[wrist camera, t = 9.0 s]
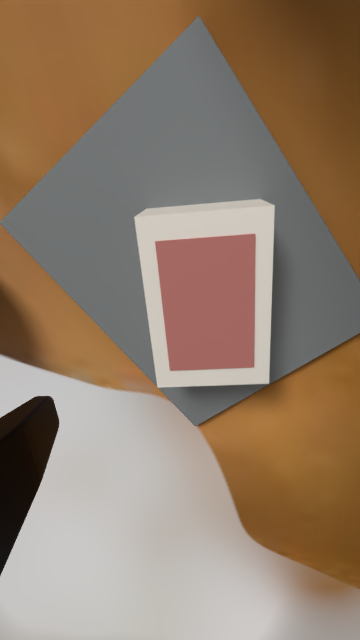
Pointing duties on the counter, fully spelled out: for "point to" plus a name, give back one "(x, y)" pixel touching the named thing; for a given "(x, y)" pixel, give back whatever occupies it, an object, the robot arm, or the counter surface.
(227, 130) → the mat
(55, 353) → the counter surface
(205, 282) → the card box
